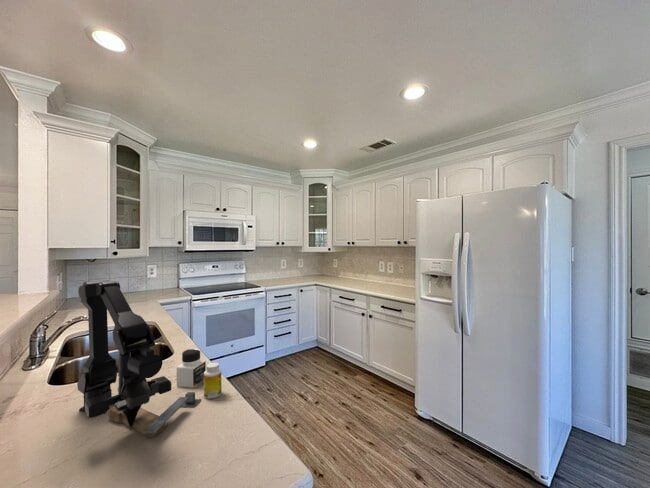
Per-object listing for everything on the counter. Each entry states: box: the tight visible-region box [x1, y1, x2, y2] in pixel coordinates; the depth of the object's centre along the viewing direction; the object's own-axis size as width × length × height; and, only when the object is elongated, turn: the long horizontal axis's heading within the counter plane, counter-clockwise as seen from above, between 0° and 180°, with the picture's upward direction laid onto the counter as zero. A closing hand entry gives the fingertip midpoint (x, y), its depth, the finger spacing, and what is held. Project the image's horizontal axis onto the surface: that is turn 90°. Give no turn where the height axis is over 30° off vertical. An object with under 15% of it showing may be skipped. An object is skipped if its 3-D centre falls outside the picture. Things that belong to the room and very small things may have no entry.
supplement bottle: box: [203, 362, 223, 400], centre depth 95 cm, size 6×6×10 cm
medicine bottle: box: [176, 347, 207, 389], centre depth 103 cm, size 7×7×12 cm
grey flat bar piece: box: [143, 391, 202, 434], centre depth 81 cm, size 5×21×4 cm, turn 176°
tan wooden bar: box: [108, 406, 167, 438], centre depth 80 cm, size 20×5×3 cm, turn 62°
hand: (130, 426), depth 76 cm, fingers closed
